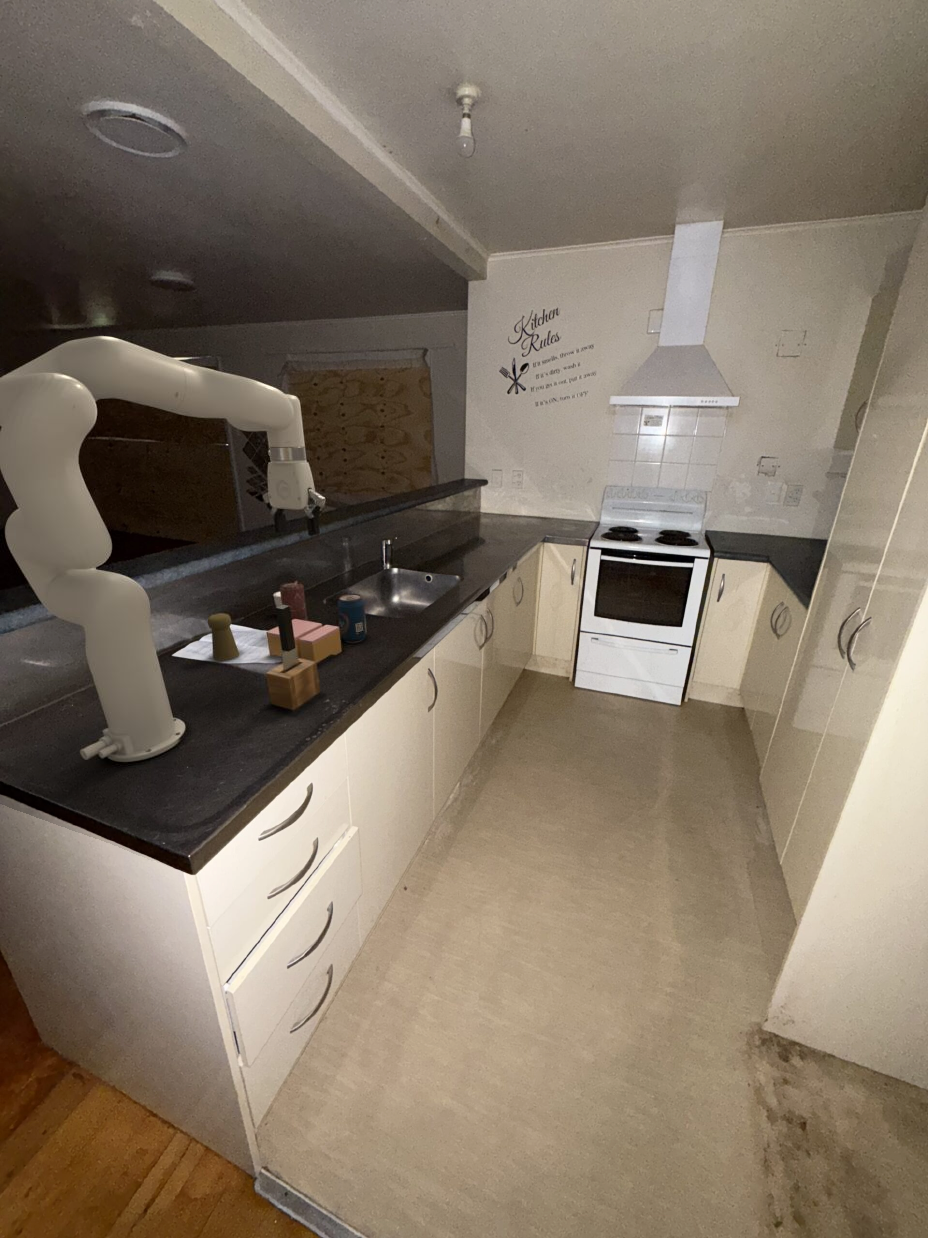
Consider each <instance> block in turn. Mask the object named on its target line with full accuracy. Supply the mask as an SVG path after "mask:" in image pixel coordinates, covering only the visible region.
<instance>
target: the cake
mask: <svg viewBox="0 0 928 1238" xmlns="http://www.w3.org/2000/svg"><path fill="white" fill-rule="evenodd" d="M292 625H293V632H294V639H295V645H296V646H297V653H298V658H301V659H302V657H301V650H300V643H299V639H300V638H302V637H304V636H305V635H307V634H309V633H311V632H313V631H315V630H317V629H319V628H321V627H323V623H320V622H315V621H310V620H308V621H304V620H299V619H293V620H292ZM265 634H266V640H267V646H268V652H269V657H272V656H273V655H274V656H277V657H278V656H279V657H282V656H281V653H282V652H284V651H283V650H282V647H281V641H280V634H279V628H278V626H276V627H274V628H271V629H269V630H267V631H266V633H265Z"/></svg>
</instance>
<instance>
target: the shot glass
mask: <svg viewBox="0 0 928 1238" xmlns="http://www.w3.org/2000/svg"><path fill="white" fill-rule="evenodd" d="M272 596H273V599H274V604H275V608H276V607H279V606H281V605H282V601H281V594H280V591H277V592H274V593H273V595H272Z"/></svg>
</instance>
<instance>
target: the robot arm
mask: <svg viewBox="0 0 928 1238" xmlns="http://www.w3.org/2000/svg"><path fill="white" fill-rule="evenodd" d="M102 399H103V400H104V399H118V400H122V401H126V402H127V401H128V402H130V403H134V404H139V405H143V406H148V407H151V408H152V407H153V408H156V409H160V410H163V411H167V412H171V413H174V414H177V415H181V416H186V417H193V418H200V419H201V418H203V419H226V421H227V422H228V423H229V424H230V425H231V426H232V427H234V428H236V429H238V430H240V431H244V432H266V436H267V443H268V451H267V455H268V456H269V458H270V459H269V460H270V462H268V464H267V492H265V493H263V494H262V499H263V502H264V503H265V505H266V507H267V509H268V510H269V511H270V512H269V513H270V515H271V516H273V523H274V531H275V533H278V534H279V533H280V534H281V533H284V532H287V531H288V524H287V518H286V513H284V512H285V510H296V511H297V510H298V511H300V510H303V511H304V512H305V514H306V516H307V517H306V526H307V534H308V536H310V537H313V536H317V535H320V534H321V532H320V522H319V520H320V519H319V517H321V514H322V512H323V511H324V509H325V505H326V502H327V501H326V500H327V499H326V498H325V497H324V496H323V495H322V494H320V493H319V492H317V491H316V488H315V483H314V478H313V475H312V474H313V473H312V470H311V467H310V464H309V462H307V452H306V445H305V435H304V427H303V426H304V425H303V418H302V408H301V401H300V399H299V397H297V396H296V395H293V394H290V393H289V394H288V393H285V392H283V391H282V390H280V389H279V388H277V387H275V386H271V385H269V384H266V383H263V382H261V381H258V380H255V379H252V378H248V377H245V376H241V375H237V374H232V373H227V372H223V371H219V370H215V369H212V368H208V367H203V366H198V365H195V364H191V363H188V362H185V361H181V360H179V359H176V358H173V357H171V356H167V355H165V354H162V353H160V352H157V351H154V350H151V349H149V348H146V347H143V346H140V345H137V344H135V343H131V342H129V341H126V340H123V339H120V338H117V337H113V336H106V335H105V336H104V335H98V336H90V337H84V338H77V339H73V340H69V341H66V342H64V343H61V344H59V345H57V346H55V347H54V348H52V349H51V350H49V351H47V352H45V353H44V354H42V355H40V356H38V357H36V358H35V359H32V360H31V361H29V362H26V363H25V364H22V366H19V367H18V368H15V369H14V370H11V371H10V372H8V373H6V374H4V375H2V376H1V377H0V472H1V475H2V477H3V479H4V481H5V483H6V486H7V487H8V489H9V491H10V494H11V496H12V498H13V500H14V502H15V504H16V506H17V509H15V510H14V511H13V512H12V513H11V514H10V516H9V517H8V518H7V521H6V523H5V526H4V527H5V528H4V535H5V541H6V544H7V547H8V549H9V551H10V553H11V555H12V557H13V559H14V561H15V562H16V564H17V565H18V567H19V569H20V570H21V572H22V574H23V575H24V578H25V579H26V580H27V582H28V584H29V585H30V587H31V589H32V590H33V592H34V593H35V595H36V596H37V598H38V600H39V601H40V602H41V604H42V605H43V606H44V608H45V609H46V610H47V611H48V612H49V613H50V614H52V615H53V616H55V617H56V618H58V619H59V620H63V621H66V622H69V623H72V624H75V625H78V626H81V627H83V629H84V634H85V645H84V646H85V657H86V661H87V664H88V667H89V671H90V674H91V676H92V679H93V683H94V686H95V689H96V692H97V695H98V699H99V702H100V705H101V708H102V711H103V715H104V717H105V720H106V724H107V727H106V728H104V729H102V734H103V736H102V737H100V738H99V739H98V741H97V742H95V743H91V744H90V745H87V746H86V747H84V748H81V749H80V750H79V753H80V756H81V757H82V759H84V761H85V760H86V761H87V760H89V759H92V758H93V757H96V756H97V755H98V756H99V757H100V758H101V759H104V758H107V759H109V760H111V761H113V762H121V763H128V762H130V763H131V762H138V761H143V760H147V759H150V758H153V757H156V756H159V755H160V754H163V753H165V752H167V751H168V750H170V749H172V748H173V747H175V746H177V745H178V744H179V743H180V742H181V741H182V739H180V738H181V737H182V736H183V735H184V733H185V731H186V724H185V722H184V721H183V720H181V719H180V718H177V717H173V713H172V709H171V704H170V700H169V697H168V692H167V689H166V685H165V681H164V677H163V673H162V668H161V666H160V662H159V657H158V654H157V649H156V646H155V642H154V637H153V633H152V623H151V622H152V615H151V603H150V599H149V596H148V593H147V592H146V590H145V589H144V587H142V585H141V584H140V583H138V582H137V581H135V580H134V579H132V578H131V577H129V576H127V575H123V574H121V573H117V572H112V571H107V570H102V569H97V567H99V566H101V565H103V564H104V563H106V562H107V560H108V559H109V557H111V554H112V550H113V543H112V542H113V541H112V538H111V535H110V533H109V530H108V528H107V526H106V524H105V522H104V521H103V520H104V519H102V517H101V514H100V512H99V510H98V508H97V506H96V504H95V502H94V500H93V498H92V496H91V493H90V492H89V490H88V487H87V485H86V483H85V480H84V478H83V474H82V472H81V469H80V464H79V455H80V449H81V447H82V444H83V442H84V440H85V438H86V437H87V436H88V434H89V433H90V432H91V430H92V429H93V428H94V426H95V424H96V421H97V416H98V408H97V403H96V402H97V401H98V400H102Z"/></svg>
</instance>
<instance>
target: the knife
mask: <svg viewBox="0 0 928 1238" xmlns="http://www.w3.org/2000/svg"><path fill="white" fill-rule="evenodd" d="M275 614H276V615H275V616H276V621H277V627H278V628H279V634H280V641H281V647H282V650H283V651H284V652H282V653H281V656H280V657H281V663H283V669H284V673H286V672H288V671H289V670H291V669H293V668H295V667H296V666H298V665H299V660H298V653H297V646H296V645H295V639H294V632H293V625H292V618H291V611H290V606H287V605H281V606H279V607H276V606H275Z"/></svg>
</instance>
